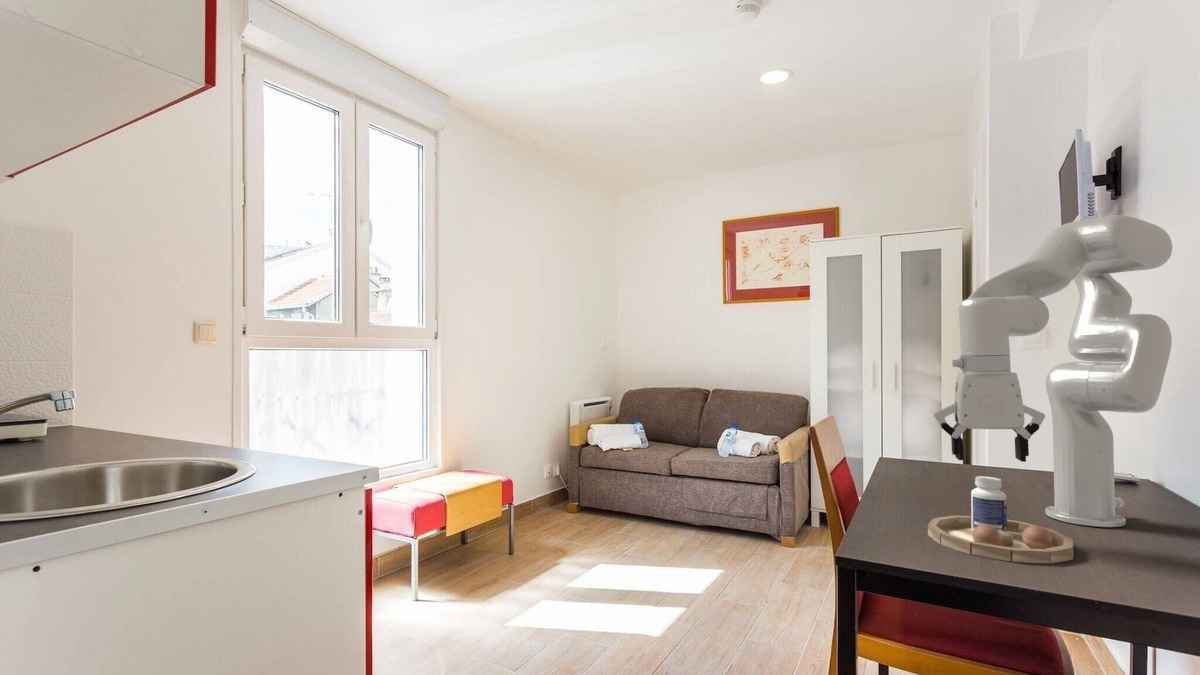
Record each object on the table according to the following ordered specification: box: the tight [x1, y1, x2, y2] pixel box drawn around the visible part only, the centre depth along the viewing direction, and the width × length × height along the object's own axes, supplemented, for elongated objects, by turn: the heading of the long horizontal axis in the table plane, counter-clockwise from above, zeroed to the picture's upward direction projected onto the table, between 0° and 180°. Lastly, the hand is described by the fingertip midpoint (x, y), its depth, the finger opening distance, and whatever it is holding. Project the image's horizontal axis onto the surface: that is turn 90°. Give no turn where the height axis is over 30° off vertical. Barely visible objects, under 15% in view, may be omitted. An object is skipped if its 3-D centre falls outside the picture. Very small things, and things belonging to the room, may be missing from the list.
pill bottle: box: [970, 475, 1008, 532], centre depth 108 cm, size 5×5×10 cm
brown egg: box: [972, 524, 1001, 546], centre depth 99 cm, size 4×4×4 cm
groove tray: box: [927, 515, 1074, 564], centre depth 103 cm, size 20×20×3 cm
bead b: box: [1022, 524, 1052, 549], centre depth 99 cm, size 4×4×4 cm
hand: (989, 459), depth 109 cm, fingers open, 9 cm apart
